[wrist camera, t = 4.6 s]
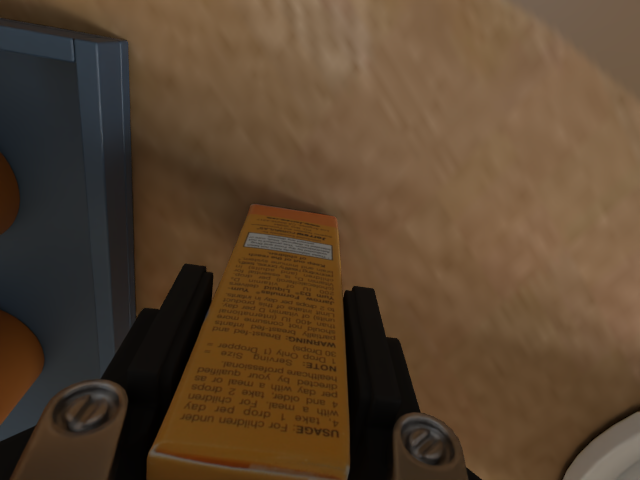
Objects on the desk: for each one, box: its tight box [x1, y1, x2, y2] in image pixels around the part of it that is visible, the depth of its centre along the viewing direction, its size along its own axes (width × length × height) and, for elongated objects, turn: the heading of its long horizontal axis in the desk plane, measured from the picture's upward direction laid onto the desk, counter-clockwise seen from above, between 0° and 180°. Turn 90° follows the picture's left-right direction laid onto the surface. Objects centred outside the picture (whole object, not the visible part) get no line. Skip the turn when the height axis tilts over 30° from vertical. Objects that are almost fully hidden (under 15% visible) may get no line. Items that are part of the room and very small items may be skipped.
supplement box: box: [146, 204, 350, 480], centre depth 11 cm, size 3×3×10 cm
